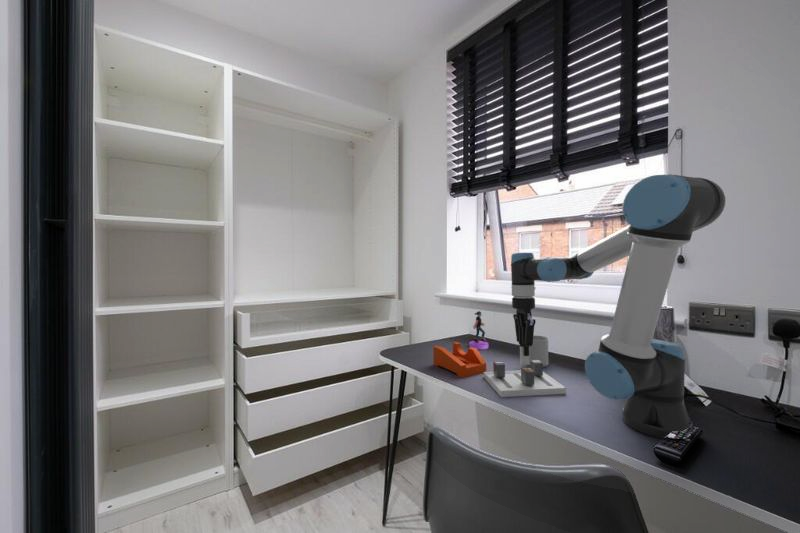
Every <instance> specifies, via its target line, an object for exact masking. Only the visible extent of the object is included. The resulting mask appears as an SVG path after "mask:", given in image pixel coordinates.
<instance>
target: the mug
mask: <svg viewBox="0 0 800 533" xmlns="http://www.w3.org/2000/svg"><path fill="white" fill-rule="evenodd" d="M529 359H530V360H539V361H541V362H542V363H543V368H544V367H548V366H549V338H548V337H547V336H542V335H533V345H532V346H529Z"/></svg>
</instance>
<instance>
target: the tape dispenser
mask: <svg viewBox="0 0 800 533" xmlns="http://www.w3.org/2000/svg"><path fill="white" fill-rule="evenodd" d="M432 349H433V365H434V366H435V367H437V368H438V367H442V368H443V369H446V370H449V371H451V372H452V373H456V377H459V378H461V379H462V378H463V379H464V378H468V377H470V376H474V375H479V374H484V372H487V363H486V361H485V360H484V358H483V356H482V355H481V353H480V352H479V349H476V348H473V347H471V348H470V347H467V352H465V351H464V350H463V347H462V343H461V342H458V341H455V342H452V352H450V351H449V350H448V349H447V348H446V347H443V346H440V345H434V346H433V348H432Z"/></svg>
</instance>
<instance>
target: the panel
mask: <svg viewBox="0 0 800 533" xmlns="http://www.w3.org/2000/svg"><path fill="white" fill-rule="evenodd" d="M483 378H484V379H485V380H486V382H487V383H488V384H489V385H490V386H491V388H493V390H494V391H495V392H496V393H497V394H498V396H499V397H500V398H507V397H525V396H529V397H531V396H549V395H566V394H567V392H566V391H567V389H566V388H567V387H565V385H562V384H561V383H560V382H558V381H557V380H555V379H554V378H552V377H551V376H550V375H548V374H547V373H546V372H544V371H543V376H534V385H525V384H524V383H522V382H521V369H520V370H517V369H516V370H505V377H498V378H497V377H496V376H495V375H494V374H493V371H486V372H483Z"/></svg>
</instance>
